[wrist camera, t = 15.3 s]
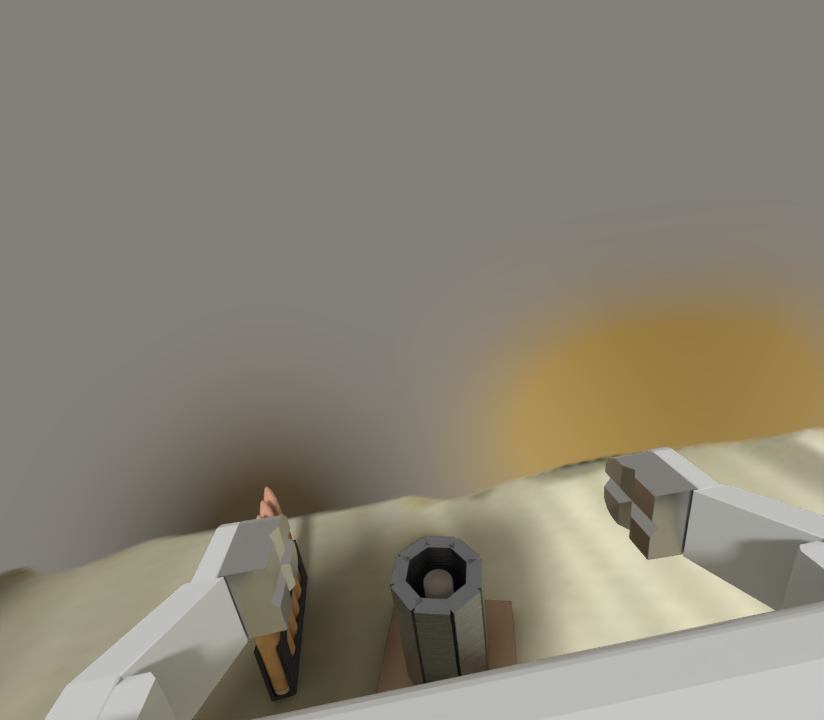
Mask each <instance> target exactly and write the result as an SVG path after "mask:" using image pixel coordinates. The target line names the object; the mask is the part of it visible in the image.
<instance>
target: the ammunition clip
mask: <svg viewBox="0 0 824 720" xmlns="http://www.w3.org/2000/svg"><path fill="white" fill-rule="evenodd" d="M280 515H283V514H282V511H281V509H280V506H279V503H278V501H277V499H276V497H275V495H274V493H273V492H272V491H271V490H270V488H268V487H265V491H264V500H262V501H261V504H260V515H257V518H256V519H261V518H267V517H274V516H280ZM288 538H289V539H291V540H292V536H291V533H290V531H289V535H288ZM292 541H293V542H294V543H295V546H296V550H297V557H298V575H297V581H296V585H295V586H294V587H293V588H292V590H291V591H290V595H291V598H292V601H293V603H292V608H291V613H290V618H289V623H288V628H287V630H284V631H280V632H276V633H271V634H267V635H262V636H258V637H253V638H254V640H255V643H256V647H255V651H254V654H255V657H256V659H257V662H258V665H259V668H260V670H261V673H262V676H263V678H264V681H265V684H266V687H267V689H268V692H269V695H270V698H271V700H276V699H280V698H284V697H287V696H291V695H295V693H296V691H297V681H298V670H299V660H300V649H301V639H302V628H303V618H304V607H305V597H306V587H307V574H306V571H305V568H304V565H303V562H302V559H301V555H300V552H299V549H298V546H297V543H296V540H292Z"/></svg>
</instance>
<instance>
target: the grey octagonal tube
mask: <svg viewBox="0 0 824 720" xmlns="http://www.w3.org/2000/svg"><path fill="white" fill-rule="evenodd" d="M398 555H399V556H396V560H395V564H394V569H393V573H392V577H391V582H390V586H391V591H392V596H393V601H394V606H395V611H396V617H397V622H398V627H399V632H400V637H401V642H402V647H403V653H404V658H405V663H406V668H407V673H408V676H409V678H410V679H411V681H412V682H413V684H414V685H420V684H425V683H430V682H434V681H439V680H444V679H449V678H454V677H459V676H463V675H468V674H473V673H478V672H483V671H487V670H489V646H488V634H487V622H486V610H485V597H484V585H483V573H482V560H481V559H480V556H479V555H478V554H477V553H475V552H474V551H473V550H472V549H471V548H469V547H468V546H467V545H466V544H465V543H464V542H462V541H461V540H460V539H459V538H458V539H456V540H455V537H433V536H426V538H425V539H424V538H423V537H422V538H421V539H419V540H418V541H416V542H415V543H413V544H412V545H410V546H409V547H407V548H406V549H404V550H403V551H401V552H400V553H399V554H398ZM435 569H442V570H445V571H447V572H448V573H449V574H450V575H451V577H452V580H453V588H454V594H453V595H451V596H450V597H449V598H448V599H432V598H426V597H425V590H424V583H423V582H424V578H425V576H426V575H427V574H428V573H429V572H430V571H432V570H435Z"/></svg>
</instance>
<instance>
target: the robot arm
mask: <svg viewBox="0 0 824 720" xmlns="http://www.w3.org/2000/svg"><path fill="white" fill-rule="evenodd" d="M605 472H606V473H607V474H608V476H609V477H610V479H609V481H608V482H607V484H606V485H605V486H604V499H605V502H606V506H607V509H608V511H609V512H610V514H611V516H612V517H613V519H614V520H615V521H616V522H617V524H619V525H621V526H623V527H625V528H627V529H629V530H630V532H629V538H630V539H631V541H632V542H633V543H634V544H635V545H636V547H637V548H638V549H639V550H640V551H641V553H642V554H643V555H644V556H645V557H646V559H647V560H650V559H657V558H663V557H669V556H675V555H681V554H683V556H684V557H686V558H687V559H689V560H691V561H692V562H694V563H696V564H697V565H699V566H701V567H703V568H704V569H706V570H708V571H709V572H711V573H713V574H715V575H716V576H718V577H720V578H721V579H723V580H725V581H726V582H728V583H730V584H732V585H733V586H735V587H737V588H738V589H740V590H742V591H743V592H745V593H747V594H749V595H750V596H752V597H754V598H755V599H757V600H759V601H761V602H762V603H764V604H766V605H767V606H769V607H771V608H772V609H774V610H776V611H772V612H767V613H762V614H757V615H752V616H748V617H743V618H738V619H733V620H728V621H723V622H719V623H714V624H709V625H704V626H699V627H694V628H690V629H685V630H680V631H675V632H670V633H666V634H661V635H656V636H651V637H646V638H641V639H637V640H632V641H627V642H622V643H617V644H612V645H608V646H603V647H598V648H593V649H588V650H584V651H579V652H574V653H569V654H564V655H560V656H555V657H550V658H545V659H540V660H536V661H531V662H526V663H521V664H516V665H512V666H507V667H502V668H497V669H492V670H487V671H483V672H478V673H473V674H468V675H463V676H459V677H454V678H449V679H444V680H439V681H434V682H430V683H425V684H420V685H415V686H410V687H405V688H401V689H396V690H391V691H386V692H381V693H376V694H371V695H367V696H362V697H357V698H352V699H347V700H342V701H338V702H333V703H328V704H323V705H318V706H313V707H309V708H304V709H299V710H294V711H289V712H285V713H280V714H275V715H270V716H265V717H261V718H256V719H251V720H824V516H822V515H819V514H816V513H813V512H810V511H807V510H804V509H801V508H798V507H795V506H792V505H789V504H786V503H783V502H780V501H777V500H774V499H770V498H767V497H764V496H761V495H758V494H755V493H752V492H749V491H746V490H743V489H740V488H737V487H734V486H731V485H728V484H726V485H720V484H718V483H717V482H716V481H714V480H713V479H712V478H710V477H709V476H708V475H706V474H705V473H704V472H702V471H701V470H700V469H698V468H697V467H696V466H694V465H693V464H692V463H690V462H689V461H687V460H686V459H685V458H683V457H682V456H681V455H679V454H678V453H677V452H675V451H674V450H673V449H671V448H667V447H663V448H658V449H653V450H648V451H646V452H640V453H634V454H629V455H623V456H618V457H612V458H608V460H607V462H606V469H605ZM289 531H290V526H289V523H288V520H287V517H286V516H284V515H280V516H274V517H267V518H261V519H254V520H248V521H243V522H237V523H230V524H224V525H221V526H220V527H218V528H217V529H216V531H215V533H214V535H213V537H212V539H211V541H210V543H209V545H208V548H207V550H206V552H205V554H204V556H203V558H202V560H201V562H200V564H199V566H198V568H197V570H196V572H195V574H194V577H193V579H192V581H191V583H187V584H183V585H182V586H181V587H180V588H179V589H177V590H176V591H175V592H174V593H173V594H172V595H171V596H169V597H168V598H167V599H166V600H165V601H164V602H162V603H161V604H160V605H159V606H158V607H157V608H156V609H154V610H153V611H152V612H151V613H150V614H149V615H147V616H146V617H145V618H144V619H143V620H142V621H141V622H139V623H138V624H137V625H136V626H135V627H134V628H133V629H131V630H130V631H129V632H128V633H127V634H126V635H124V636H123V637H122V638H121V639H120V640H119V641H118V642H116V643H115V644H114V645H113V646H112V647H111V648H110V649H108V650H107V651H106V652H105V653H104V654H103V655H101V656H100V657H99V658H98V659H97V660H96V661H95V662H93V663H92V664H91V665H90V666H89V667H88V668H86V669H85V670H84V671H83V672H82V673H81V674H80V675H78V676H77V677H76V678H75V679H74V680H73V681H72V682H70V683H69V684H68V685H67V686H66V687H65V689H64V690H63V692H62V693H61V695H60V696H59V698H58V699H57V701H56V703H55V704H54V706H53V707H52V709H51V710H50V712H49V713H48V715H47V717H46V718H45V720H192V719H193V717H194V716H195V714H196V713H197V712H198V710H199V709H200V708H201V706H202V705H203V703H204V702H205V701H206V699H207V698H208V696H209V695H210V694H211V692H212V691H213V689H214V688H215V687H216V685H217V684H218V682H219V681H220V680H221V678H222V677H223V675H224V674H225V673H226V671H227V670H228V668H229V667H230V666H231V664H232V663H233V662H234V660H235V659H236V657H237V656H238V655H239V653H240V652H241V650H242V649H243V648H244V646H245V645H246V643H247V642H248V639H249V638H253V637H258V636H262V635H267V634H271V633H276V632H280V631H284V630H287V628H288V623H289V618H290V613H291V608H292V603H293V601H292V598H291V595H290V591H291V590H292V588H293V587H294V586H295V585H296V581H297V575H298V557H297V550H296V546H295V543H294V542H293V541H292V540H291V539H289V538H288V535H289Z"/></svg>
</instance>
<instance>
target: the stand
mask: <svg viewBox="0 0 824 720" xmlns="http://www.w3.org/2000/svg"><path fill="white" fill-rule="evenodd" d="M423 583H424V590H425V597H426V598H432V599H448V598H449V597H450V596H451V595H453V594H454V588H453V580H452V577H451V575H450V574H449V573H448V572H447V571H445V570H442V569H435V570H432V571H430V572H429V573H428V574H427V575H426V576H425V578H424V582H423ZM485 610H486V622H487V634H488V646H489V670H492V669H497V668H502V667H507V666H512V665H516V664H517V662H516V650H515V639H514V627H513V616H512V604H511V601H496V600H485ZM410 686H415V685H414V684H413V682H412V681H411V679H410V678H409V676H408V673H407V668H406V663H405V658H404V653H403V647H402V642H401V637H400V632H399V627H398V622H397V617H396V611H395V606H394V610H393V615H392V620H391V625H390V630H389V635H388V639H387V644H386V649H385V654H384V659H383V664H382V669H381V674H380V678H379V683H378V688H377V693H381V692H386V691H391V690H396V689H401V688H405V687H410Z"/></svg>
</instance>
